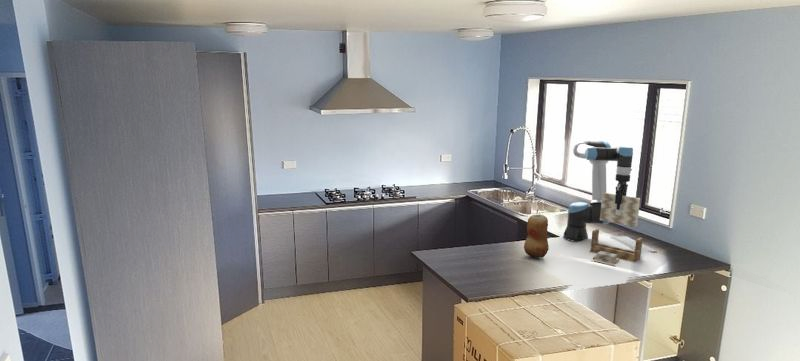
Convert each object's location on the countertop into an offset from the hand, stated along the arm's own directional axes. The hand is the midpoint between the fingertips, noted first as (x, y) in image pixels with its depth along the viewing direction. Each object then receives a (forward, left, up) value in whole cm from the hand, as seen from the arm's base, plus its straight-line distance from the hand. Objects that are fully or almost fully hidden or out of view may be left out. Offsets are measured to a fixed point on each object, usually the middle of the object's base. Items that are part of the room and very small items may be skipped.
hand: (618, 214), depth 290 cm
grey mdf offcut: (0, -14, -23) cm, 27 cm away
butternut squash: (-32, -35, -26) cm, 54 cm away
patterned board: (0, 0, -5) cm, 5 cm away
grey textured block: (0, -14, -26) cm, 29 cm away
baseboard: (-1, +33, -26) cm, 42 cm away
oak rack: (0, 0, -25) cm, 25 cm away
